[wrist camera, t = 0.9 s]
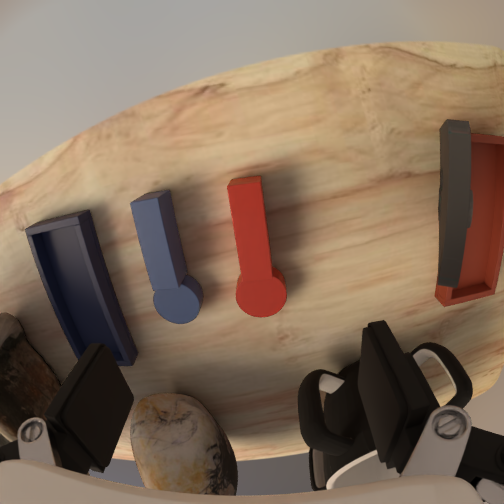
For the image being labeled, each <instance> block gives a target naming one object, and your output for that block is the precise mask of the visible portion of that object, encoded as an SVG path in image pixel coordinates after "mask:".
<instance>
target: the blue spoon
mask: <svg viewBox="0 0 504 504" xmlns="http://www.w3.org/2000/svg"><path fill="white" fill-rule="evenodd" d="M130 205H131V209H132V214H133V218H134V222H135V226H136V230H137V234H138V238H139V242H140V246H141V250H142V254H143V257H144V261H145V264H146V268H147V272H148V275H149V278H150V282H151V285H152V289H153V291H155V293H154V297H153V301H154V306H155V308H156V310H157V312H158V313H159V314H160V315H161V316H162V317H163V318H164V319H166V320H168V321H170V322H172V323H177V324H184V323H188V322H190V321H192V320H194V319H195V318H196V317H197V315H198V313H199V311H200V308H201V304H202V301H203V291H202V288H201V286H200V285H199V283H198V282H197V281H196V280H195V279H194V278H192V277H191V276H188V275H186V273H187V267H186V263H185V259H184V254H183V250H182V246H181V241H180V237H179V232H178V227H177V223H176V218H175V213H174V208H173V203H172V198H171V193H170V190H164V191H159V192H153V193H148V194H144V195H143V196H141V197H139V198H137V199H136V200H134V201H132V202H131V203H130Z"/></svg>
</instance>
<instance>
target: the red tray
mask: <svg viewBox="0 0 504 504" xmlns="http://www.w3.org/2000/svg"><path fill="white" fill-rule="evenodd" d="M470 190H472V192H473V215H472V222H471V226H470V228H467V234H466V242H465V249H464V256H463V262H462V268H461V273H460V279H459V283H458V286H457V288H453V287H446V286H440V285H437V284H436V291H435V297H436V298H437V299H438V301H439V302H440V303H441V304H442V305H443V306H444V307H446V306H450V305H455V304H459V303H463V302H467V301H471V300H475V299H479V298H482V297H486V296H490V295H493V294H495V288H496V285H497V281H498V276H499V271H500V266H501V261H502V255H503V249H504V137H502V136H494V135H484V134H473V133H471V188H470ZM437 282H438V277H437Z"/></svg>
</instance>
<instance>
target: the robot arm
mask: <svg viewBox="0 0 504 504" xmlns="http://www.w3.org/2000/svg"><path fill="white" fill-rule="evenodd" d="M358 389H359V393H360V396H361V399H362V402H363V406H364V409H365V412H366V415H367V419H368V422H369V425H370V429H371V432H372V436H373V439H374V443H375V446H376V450H377V453H378V457H379V460H380V462H381V463H384V462H385V463H386V467H387V469H391V468H396V471H397V473H399V474H400V476H399V478H392V479H386V480H381V481H375V482H370V483H364V484H359V485H353V486H348V487H342V488H335V489H329V490H321V491H312V492H304V493H293V494H281V495H263V496H261V495H260V496H223V495H202V494H189V493H179V492H170V491H162V490H155V489H149V488H142V487H137V486H131V485H126V484H121V483H117V482H112V481H108V480H104V479H100V478H95V477H92V476H90V475H89V473H88V471H89V469H91V470H93V471H97V472H101V473H103V472H104V470H105V467H107V466H108V465H109V464H110V461H111V458H112V456H113V453H114V450H115V448H116V445H117V443H118V440H119V437H120V435H121V432H122V430H123V427H124V425H125V422H126V420H127V417H128V415H129V412H130V410H131V407H132V405H133V402H134V397H133V394H132V392H131V390H130V388H129V386H128V384H127V382H126V380H125V378H124V376H123V375H122V373H121V371H120V369H119V366H118V364H117V362H116V360H115V358H114V356H113V354H112V352H111V350H110V348H108V347H107V346H106V345H105V344H103V343H91V344H90V345H89V346H88V347H87V349H86V350H85V352H84V353H83V355H82V356H81V357H80V359H79V360H78V362H77V363H76V365H75V366H74V368H73V369H72V371H71V372H70V374H69V375H68V377H67V378H66V380H65V381H64V383H63V385H62V386H61V388H60V389H59V391H58V392H57V394H56V396H55V397H54V399H53V400H52V402H51V404H50V405H49V407H48V408H47V410H46V412H45V413H44V416H45V417H46V418H47V420H46V422H45V421H44V420H43V419H41V418H36V417H34V418H30V419H28V420H26V421H25V422H24V423H23V424H22V425H21V426H20V427H19V430H18V434H17V438H18V439H17V440H15V441H13V442H10V443H8V444H6V445H3V446H1V447H0V504H484V503H483V502H485V501H486V502H488V503H489V504H504V436H502V435H499V434H495V433H492V432H488V431H485V430H482V429H479V428H476V427H473V426H471V425H472V422H471V418H470V416H469V415H468V413H467V412H466V411H465V410H463V409H462V408H460V407H457V406H452V405H447V406H442V407H440V405H439V403H438V401H437V399H436V397H435V396H434V394H433V392H432V390H431V388H430V386H429V384H428V382H427V381H426V379H425V377H424V375H423V373H422V371H421V370H420V368H419V366H418V364H417V362H416V361H415V359H414V357H413V356H412V354H411V353H409V352H407V353H403V351H402V349H401V348H400V346H399V344H398V342H397V341H396V339H395V337H394V335H393V333H392V332H391V330H390V328H389V326H388V325H387V323H386V322H385V321H384V320H382V321H376V322H370V323H368V327H366V328H363V334H362V346H361V357H360V366H359V375H358Z"/></svg>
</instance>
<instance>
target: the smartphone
mask: <svg viewBox="0 0 504 504" xmlns="http://www.w3.org/2000/svg"><path fill="white" fill-rule="evenodd" d="M470 188H471V131H470V124H469V121H460V120H449V119H447V120H446V121H445V122H444V124H443V125H442V126H441V128H440V188H439V207H438V213H439V263H438V282H437V285H440V286H446V287H453V288H457V286H458V283H459V279H460V273H461V268H462V262H463V256H464V249H465V242H466V234H467V228H470V226H471V222H472V215H473V192H472V190H470Z"/></svg>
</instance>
